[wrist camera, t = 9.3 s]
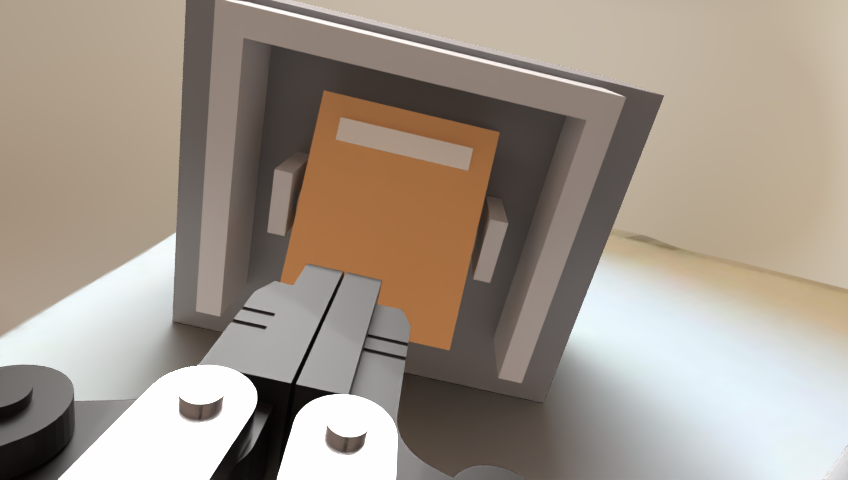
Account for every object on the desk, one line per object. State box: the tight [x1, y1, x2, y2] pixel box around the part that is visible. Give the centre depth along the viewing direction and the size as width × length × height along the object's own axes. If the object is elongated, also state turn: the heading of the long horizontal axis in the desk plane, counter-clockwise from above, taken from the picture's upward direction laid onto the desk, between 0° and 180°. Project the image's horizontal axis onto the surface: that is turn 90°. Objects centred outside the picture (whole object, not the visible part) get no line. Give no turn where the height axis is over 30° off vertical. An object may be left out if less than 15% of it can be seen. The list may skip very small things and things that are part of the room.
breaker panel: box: [173, 0, 664, 403], centre depth 30 cm, size 22×14×18 cm, turn 87°
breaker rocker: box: [280, 91, 500, 350], centre depth 24 cm, size 8×2×10 cm, turn 87°
